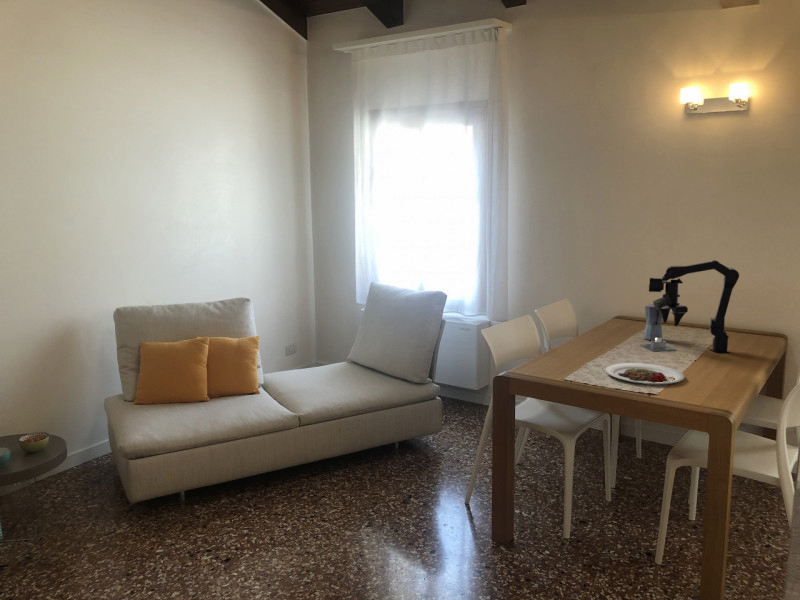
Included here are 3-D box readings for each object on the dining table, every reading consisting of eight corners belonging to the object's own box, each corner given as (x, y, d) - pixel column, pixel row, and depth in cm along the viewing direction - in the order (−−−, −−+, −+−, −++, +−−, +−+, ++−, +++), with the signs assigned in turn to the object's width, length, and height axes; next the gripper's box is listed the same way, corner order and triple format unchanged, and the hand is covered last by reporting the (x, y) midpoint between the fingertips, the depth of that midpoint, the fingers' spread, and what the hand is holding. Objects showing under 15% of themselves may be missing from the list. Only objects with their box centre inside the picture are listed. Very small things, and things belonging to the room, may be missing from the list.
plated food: (621, 363, 281) (621, 356, 281) (693, 375, 263) (694, 367, 262) (594, 378, 258) (594, 370, 258) (670, 392, 240) (671, 383, 239)
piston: (676, 350, 304) (677, 340, 303) (652, 351, 302) (653, 341, 301) (662, 344, 316) (663, 335, 315) (639, 345, 314) (640, 335, 313)
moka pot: (658, 336, 335) (660, 298, 332) (667, 343, 320) (670, 303, 316) (639, 336, 336) (642, 298, 333) (648, 342, 321) (650, 303, 317)
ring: (667, 348, 306) (668, 342, 306) (655, 348, 305) (655, 342, 305) (660, 345, 312) (660, 339, 312) (648, 345, 312) (648, 339, 311)
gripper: (645, 290, 314) (644, 321, 316) (667, 295, 295) (665, 328, 298) (666, 289, 315) (665, 320, 318) (689, 294, 297) (687, 327, 299)
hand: (670, 324), depth 308 cm, fingers open, 9 cm apart
